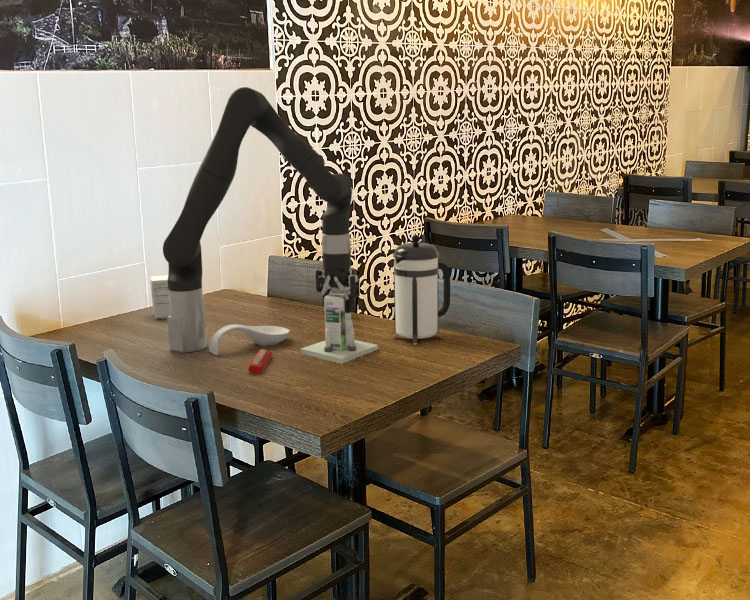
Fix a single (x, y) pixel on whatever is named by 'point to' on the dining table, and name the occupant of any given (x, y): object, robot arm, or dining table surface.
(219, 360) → the dining table surface
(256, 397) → the dining table surface
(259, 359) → the candy bar
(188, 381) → the dining table surface
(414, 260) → the coffee press
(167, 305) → the mini drawer cabinet
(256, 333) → the spoon rest
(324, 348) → the pale green square stand
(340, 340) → the syrup box
